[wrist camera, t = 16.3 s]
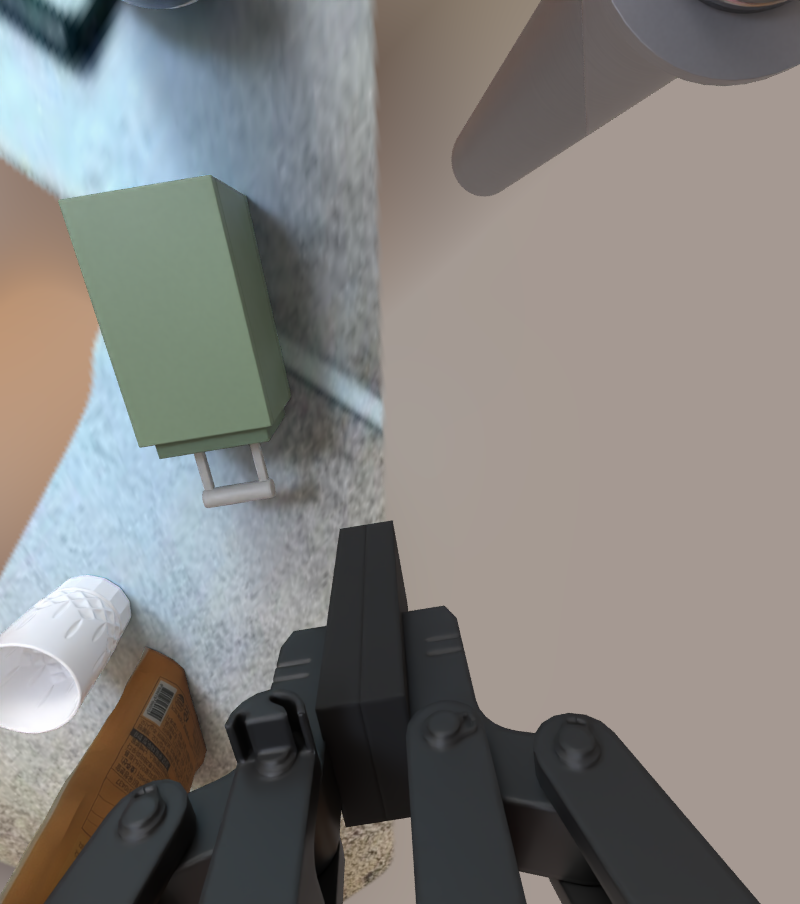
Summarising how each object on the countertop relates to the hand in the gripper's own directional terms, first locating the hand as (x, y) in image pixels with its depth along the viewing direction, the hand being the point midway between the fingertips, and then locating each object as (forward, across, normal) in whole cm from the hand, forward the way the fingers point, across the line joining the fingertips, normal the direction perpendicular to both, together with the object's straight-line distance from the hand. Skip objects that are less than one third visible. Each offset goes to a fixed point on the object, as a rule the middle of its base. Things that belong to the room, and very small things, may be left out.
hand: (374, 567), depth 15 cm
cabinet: (+28, -11, +7) cm, 31 cm away
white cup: (+29, -28, -16) cm, 43 cm away
